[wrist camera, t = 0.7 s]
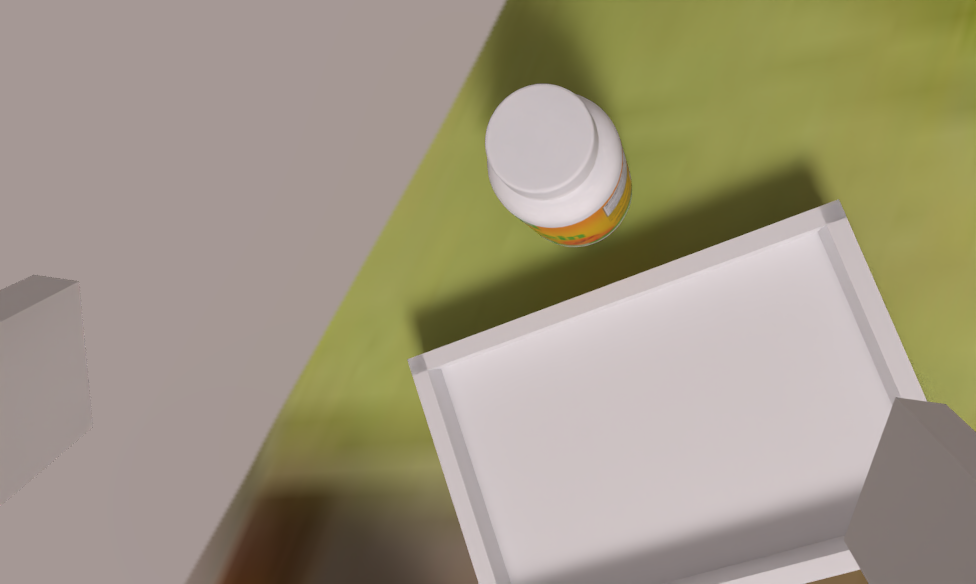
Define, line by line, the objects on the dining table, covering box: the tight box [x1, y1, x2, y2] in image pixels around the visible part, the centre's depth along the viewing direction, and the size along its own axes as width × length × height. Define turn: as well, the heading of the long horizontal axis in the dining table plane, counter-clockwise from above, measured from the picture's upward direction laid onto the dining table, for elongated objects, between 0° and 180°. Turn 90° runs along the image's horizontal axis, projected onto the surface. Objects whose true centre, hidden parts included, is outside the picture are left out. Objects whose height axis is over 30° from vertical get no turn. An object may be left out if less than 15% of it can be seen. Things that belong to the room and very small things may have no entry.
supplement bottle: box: [485, 84, 632, 247], centre depth 29 cm, size 5×5×10 cm
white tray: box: [407, 199, 927, 584], centre depth 31 cm, size 20×14×2 cm
